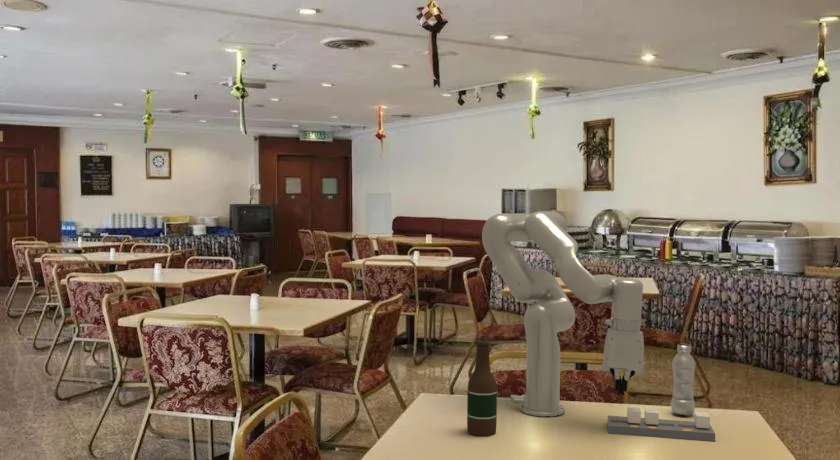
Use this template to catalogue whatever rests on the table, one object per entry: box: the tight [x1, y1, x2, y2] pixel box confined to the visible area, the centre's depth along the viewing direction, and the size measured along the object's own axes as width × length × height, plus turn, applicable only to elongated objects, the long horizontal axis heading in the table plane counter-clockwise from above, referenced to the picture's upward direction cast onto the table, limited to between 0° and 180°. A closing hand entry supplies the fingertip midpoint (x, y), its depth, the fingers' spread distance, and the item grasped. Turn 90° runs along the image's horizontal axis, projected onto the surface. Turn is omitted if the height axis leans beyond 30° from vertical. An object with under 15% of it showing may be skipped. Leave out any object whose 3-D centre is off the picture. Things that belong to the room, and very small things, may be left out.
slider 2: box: [643, 407, 660, 425], centre depth 194 cm, size 3×4×3 cm
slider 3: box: [693, 411, 711, 429], centre depth 192 cm, size 3×4×3 cm
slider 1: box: [626, 406, 642, 424], centre depth 195 cm, size 3×4×3 cm
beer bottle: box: [466, 338, 498, 437], centre depth 191 cm, size 8×8×24 cm
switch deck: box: [607, 415, 716, 442], centre depth 194 cm, size 26×10×2 cm, turn 77°
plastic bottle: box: [670, 343, 696, 417], centre depth 211 cm, size 6×7×20 cm
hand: (620, 393), depth 197 cm, fingers closed
